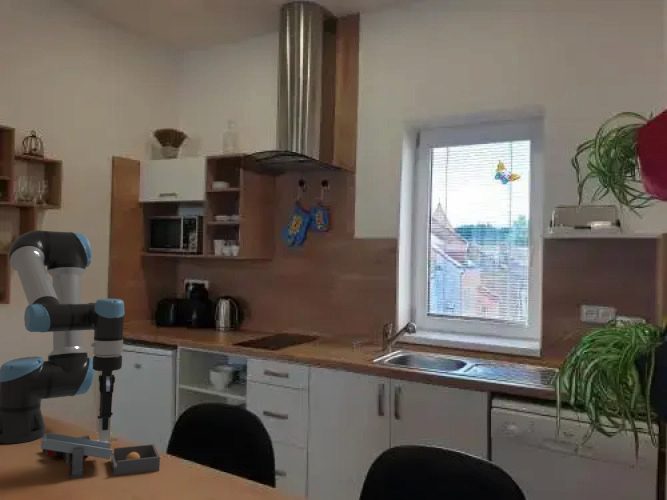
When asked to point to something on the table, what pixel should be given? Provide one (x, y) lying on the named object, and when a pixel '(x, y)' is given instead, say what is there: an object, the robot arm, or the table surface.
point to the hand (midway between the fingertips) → (104, 440)
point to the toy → (64, 453)
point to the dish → (135, 460)
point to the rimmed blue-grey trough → (76, 445)
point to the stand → (77, 463)
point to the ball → (132, 456)
